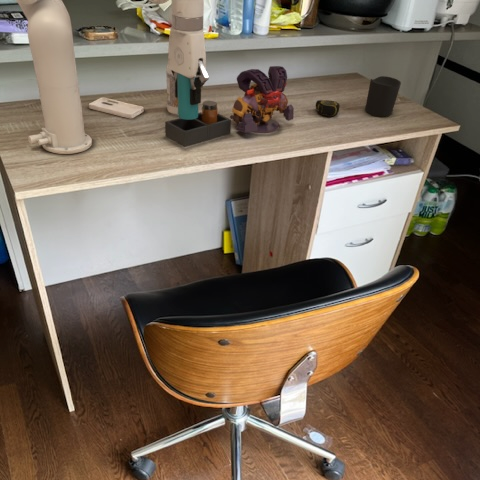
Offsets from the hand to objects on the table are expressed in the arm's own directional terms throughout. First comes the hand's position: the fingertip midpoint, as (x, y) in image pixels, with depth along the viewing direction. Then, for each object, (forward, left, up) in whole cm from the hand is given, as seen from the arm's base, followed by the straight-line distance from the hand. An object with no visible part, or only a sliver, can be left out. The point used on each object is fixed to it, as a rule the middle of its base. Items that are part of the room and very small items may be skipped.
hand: (187, 99), depth 138 cm
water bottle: (0, 0, -4) cm, 4 cm away
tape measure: (+50, -8, -11) cm, 52 cm away
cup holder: (+4, 0, -11) cm, 12 cm away
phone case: (-4, +29, -11) cm, 31 cm away
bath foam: (+11, +18, -11) cm, 24 cm away
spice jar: (+8, 0, -10) cm, 13 cm away
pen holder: (+66, -17, -11) cm, 69 cm away
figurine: (+23, -5, -11) cm, 26 cm away
